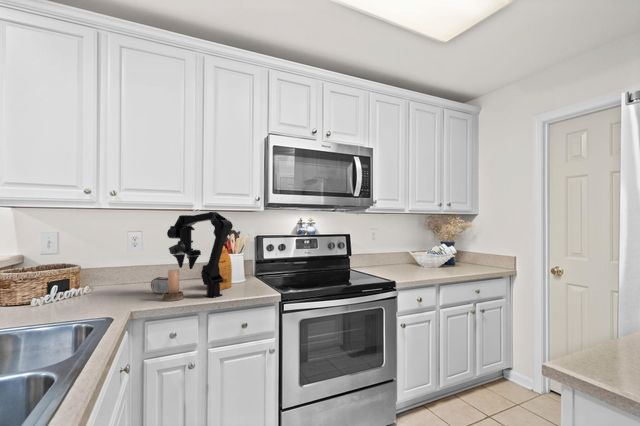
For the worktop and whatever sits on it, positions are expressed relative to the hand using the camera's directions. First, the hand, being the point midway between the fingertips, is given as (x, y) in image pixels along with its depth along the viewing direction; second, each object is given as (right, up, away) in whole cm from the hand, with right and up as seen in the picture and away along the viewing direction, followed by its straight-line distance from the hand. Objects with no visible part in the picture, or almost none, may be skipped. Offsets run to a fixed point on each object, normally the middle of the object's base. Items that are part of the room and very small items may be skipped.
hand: (185, 268), depth 175 cm
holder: (-1, -13, -13) cm, 18 cm away
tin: (-11, -13, -1) cm, 18 cm away
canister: (-1, -12, -13) cm, 18 cm away
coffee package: (+15, -13, +12) cm, 23 cm away
